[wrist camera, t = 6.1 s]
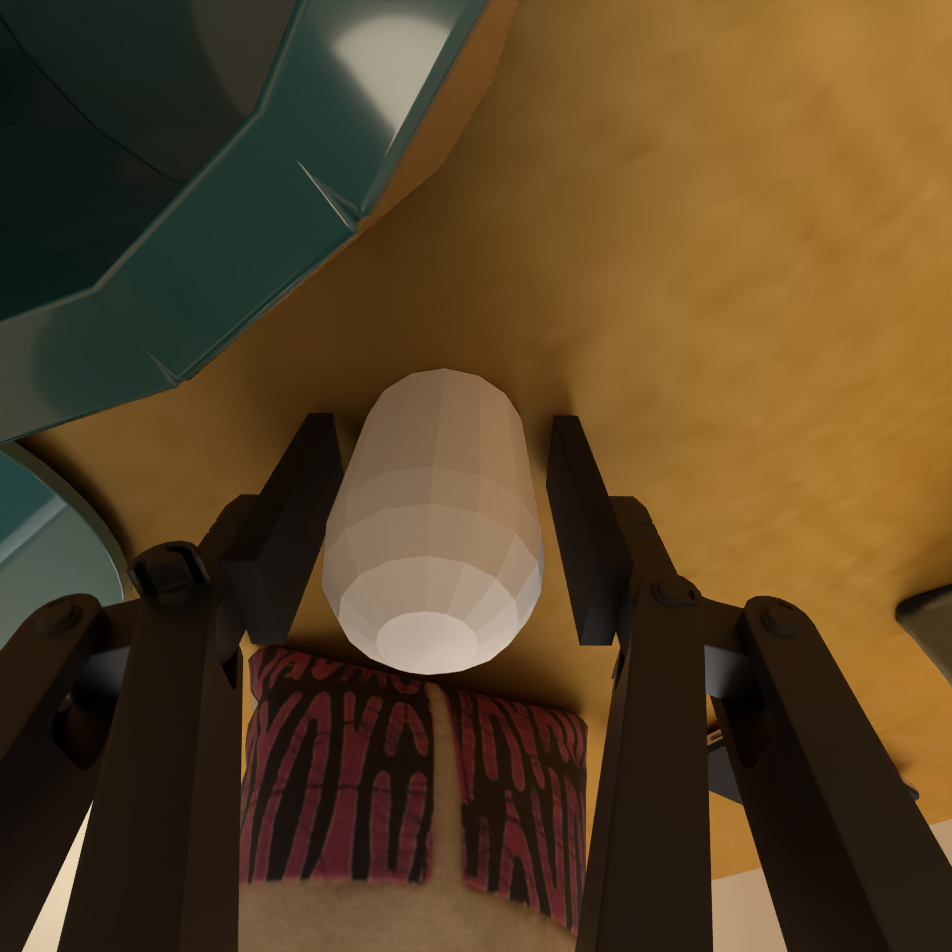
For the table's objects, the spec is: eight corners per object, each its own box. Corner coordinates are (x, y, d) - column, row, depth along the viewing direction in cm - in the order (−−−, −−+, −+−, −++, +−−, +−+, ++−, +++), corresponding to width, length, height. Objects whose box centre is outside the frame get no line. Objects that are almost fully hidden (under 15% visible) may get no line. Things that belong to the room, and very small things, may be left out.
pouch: (689, 693, 25) (1066, 1652, 9) (605, 765, 29) (762, 1499, 13) (167, 562, 19) (-1208, 2461, 3) (159, 675, 23) (-467, 1748, 8)
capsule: (533, 371, 15) (583, 558, 8) (518, 508, 18) (545, 726, 11) (356, 365, 14) (259, 551, 8) (371, 505, 18) (310, 723, 11)
